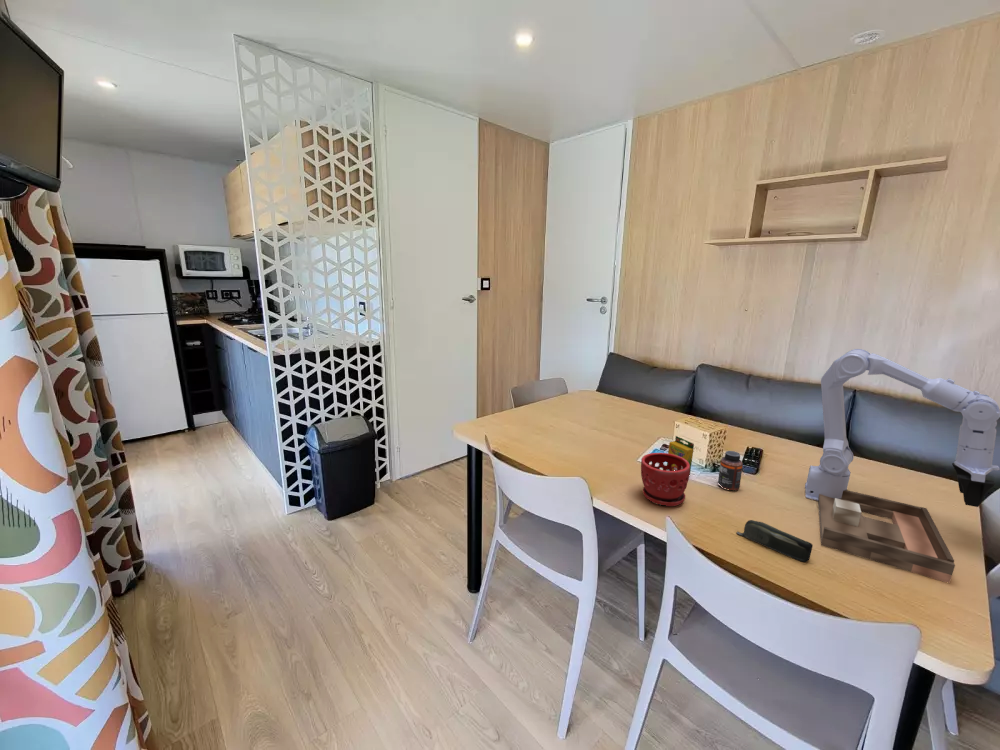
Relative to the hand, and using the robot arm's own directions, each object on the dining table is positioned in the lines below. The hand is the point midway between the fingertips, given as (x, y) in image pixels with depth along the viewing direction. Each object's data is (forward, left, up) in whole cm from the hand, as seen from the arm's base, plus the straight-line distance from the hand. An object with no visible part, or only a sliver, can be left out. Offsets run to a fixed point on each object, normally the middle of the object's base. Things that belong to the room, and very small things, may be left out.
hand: (968, 499), depth 101 cm
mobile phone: (-38, -31, -12) cm, 50 cm away
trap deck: (-17, -10, -11) cm, 22 cm away
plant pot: (-65, -24, -11) cm, 70 cm away
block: (-23, -10, -9) cm, 26 cm away
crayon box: (-65, -4, -11) cm, 66 cm away
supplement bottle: (-50, -5, -11) cm, 52 cm away
